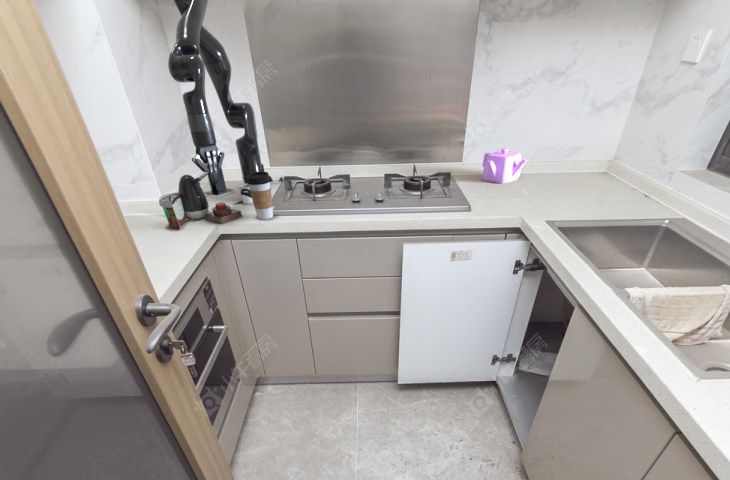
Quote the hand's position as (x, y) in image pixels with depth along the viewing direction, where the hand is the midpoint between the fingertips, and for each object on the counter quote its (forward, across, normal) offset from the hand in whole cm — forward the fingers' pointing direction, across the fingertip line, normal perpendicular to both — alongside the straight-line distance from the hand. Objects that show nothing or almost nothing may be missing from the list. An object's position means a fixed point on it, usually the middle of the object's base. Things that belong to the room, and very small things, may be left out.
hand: (215, 183), depth 152 cm
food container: (+13, +14, -10) cm, 21 cm away
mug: (+12, -21, -5) cm, 25 cm away
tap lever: (+4, -18, -29) cm, 34 cm away
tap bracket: (+12, -23, -29) cm, 39 cm away
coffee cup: (+13, -9, +13) cm, 20 cm away
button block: (+12, 0, 0) cm, 13 cm away
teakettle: (+12, -98, +73) cm, 123 cm away
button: (+9, 0, 0) cm, 9 cm away
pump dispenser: (+13, +4, -10) cm, 17 cm away
